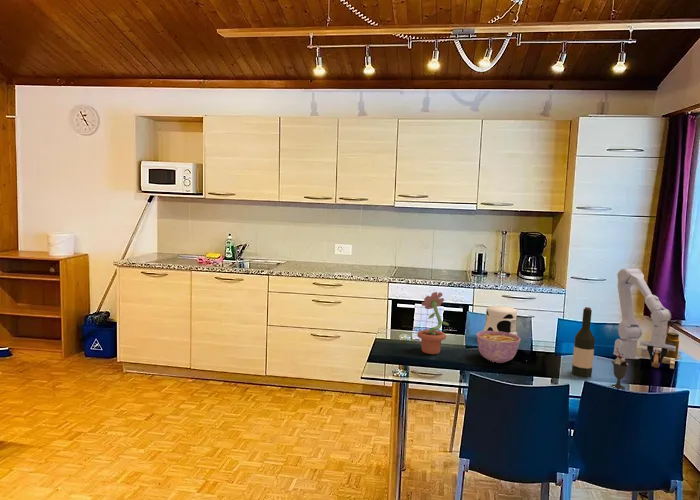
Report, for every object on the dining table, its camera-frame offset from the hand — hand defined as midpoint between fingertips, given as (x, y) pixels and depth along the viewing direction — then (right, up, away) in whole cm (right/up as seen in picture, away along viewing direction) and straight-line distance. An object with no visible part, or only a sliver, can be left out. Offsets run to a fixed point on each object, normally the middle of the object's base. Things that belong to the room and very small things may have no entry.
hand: (655, 362), depth 251 cm
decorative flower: (-104, +3, +8) cm, 105 cm away
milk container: (-65, +4, +32) cm, 72 cm away
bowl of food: (-75, +1, -1) cm, 75 cm away
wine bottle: (-42, -2, -16) cm, 45 cm away
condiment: (+17, -1, +19) cm, 26 cm away
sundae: (-32, -4, -29) cm, 44 cm away
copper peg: (0, -2, 0) cm, 2 cm away
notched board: (+7, -2, +5) cm, 9 cm away
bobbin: (+10, -1, +13) cm, 16 cm away
